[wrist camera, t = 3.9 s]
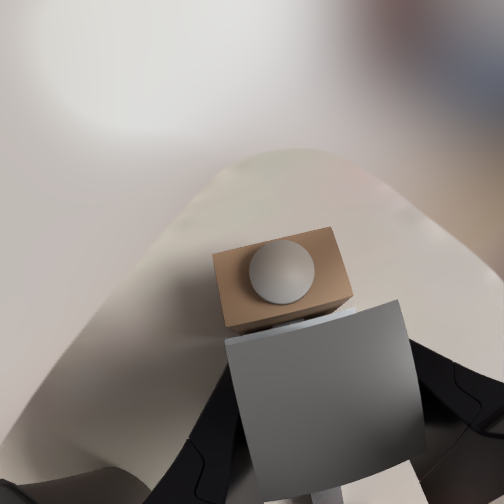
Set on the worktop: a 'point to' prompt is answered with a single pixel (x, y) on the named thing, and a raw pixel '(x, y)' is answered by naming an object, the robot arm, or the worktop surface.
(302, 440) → the plate
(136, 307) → the worktop surface
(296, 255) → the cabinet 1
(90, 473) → the coffee cup
